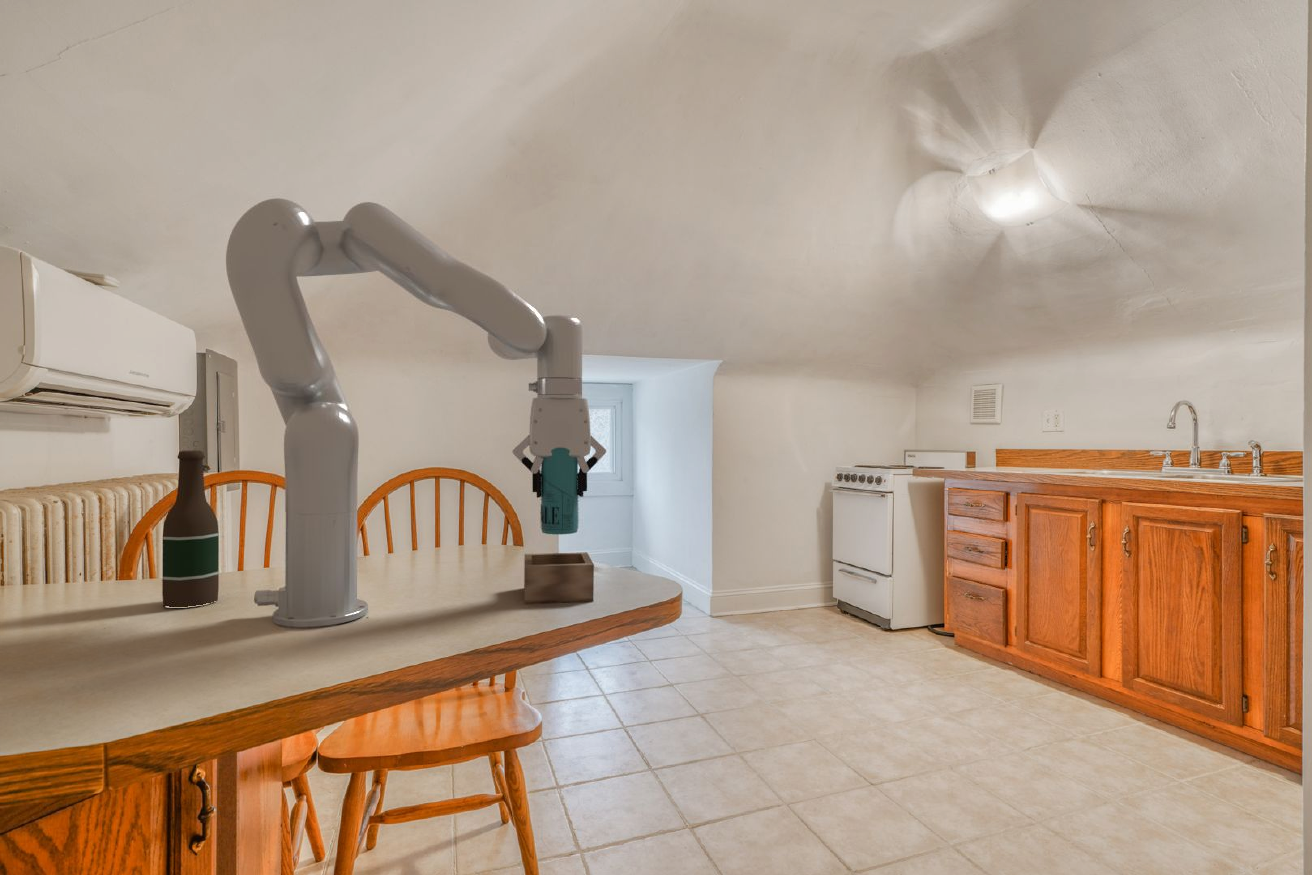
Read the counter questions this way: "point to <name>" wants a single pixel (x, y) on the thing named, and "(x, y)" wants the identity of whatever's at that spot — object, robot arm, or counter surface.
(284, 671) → the counter surface
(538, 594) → the holder
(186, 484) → the beer bottle
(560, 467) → the beverage bottle
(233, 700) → the counter surface
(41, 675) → the counter surface
